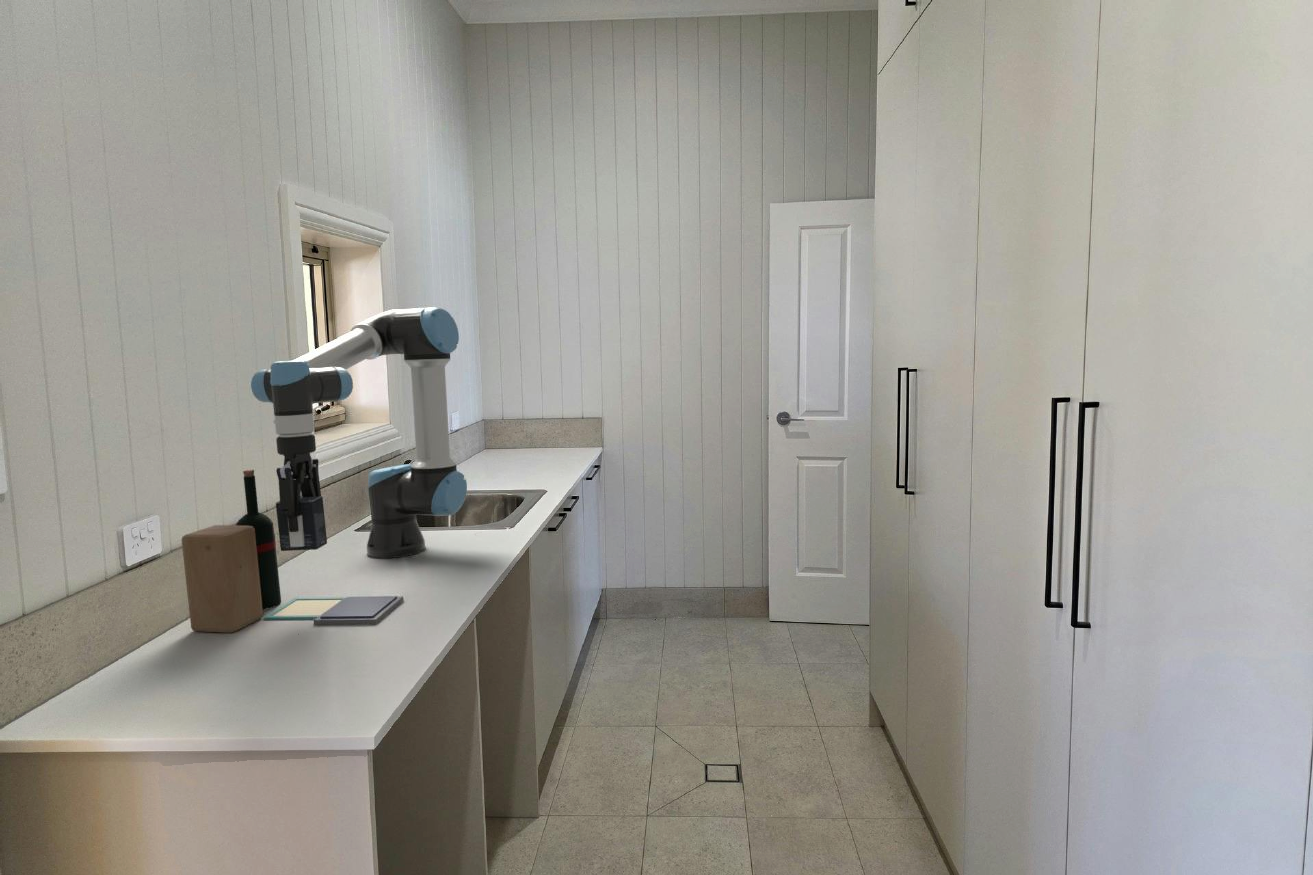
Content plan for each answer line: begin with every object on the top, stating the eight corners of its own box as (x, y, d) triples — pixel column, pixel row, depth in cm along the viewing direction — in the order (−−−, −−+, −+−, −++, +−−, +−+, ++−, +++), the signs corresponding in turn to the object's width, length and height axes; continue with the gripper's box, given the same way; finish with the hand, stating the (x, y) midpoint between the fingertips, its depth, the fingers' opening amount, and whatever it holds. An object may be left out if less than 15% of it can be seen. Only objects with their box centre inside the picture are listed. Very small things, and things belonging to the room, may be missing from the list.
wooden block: (233, 634, 169) (222, 536, 167) (189, 632, 171) (178, 535, 169) (265, 617, 179) (256, 524, 176) (223, 616, 181) (214, 524, 178)
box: (327, 543, 184) (323, 495, 183) (316, 550, 179) (312, 501, 177) (291, 544, 185) (287, 496, 183) (279, 551, 179) (274, 502, 178)
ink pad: (346, 601, 188) (345, 595, 188) (403, 600, 187) (403, 594, 187) (313, 624, 173) (313, 618, 173) (376, 624, 172) (375, 617, 172)
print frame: (295, 600, 190) (294, 597, 190) (355, 599, 189) (355, 597, 189) (264, 619, 178) (263, 617, 178) (328, 618, 176) (328, 616, 176)
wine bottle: (292, 595, 194) (280, 465, 190) (271, 610, 184) (257, 473, 180) (258, 596, 194) (245, 466, 190) (235, 611, 184) (221, 474, 180)
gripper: (300, 429, 188) (309, 532, 191) (253, 440, 170) (264, 554, 173) (332, 428, 188) (341, 531, 191) (290, 439, 169) (300, 553, 172)
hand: (305, 542), depth 182 cm, fingers closed on box, 6 cm apart
